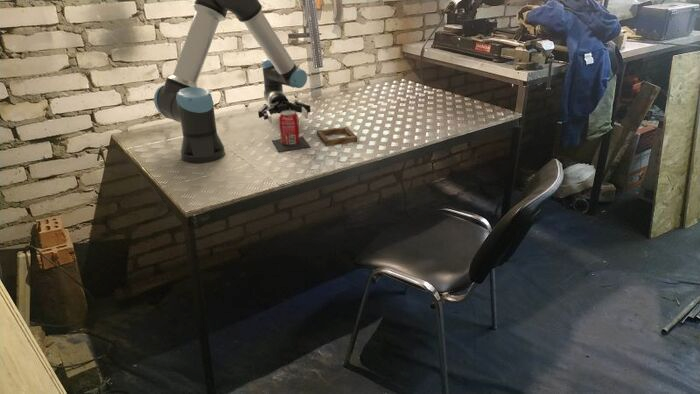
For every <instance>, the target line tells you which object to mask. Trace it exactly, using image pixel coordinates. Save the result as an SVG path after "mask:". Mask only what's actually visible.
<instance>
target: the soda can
mask: <svg viewBox="0 0 700 394" xmlns="http://www.w3.org/2000/svg"><path fill="white" fill-rule="evenodd" d="M278 119H279V120H278V121H279V132H280V133H279V134H280V139H281V142H282V143H283V144H284V145H287V146H292V145H296V144H297V143H298V142H299V138H300V137H301V136H300V123H299V120H300V119H299V116H298V114H297V112H296V111H294V110H285V111H282V112H281V113H280V114H279V118H278Z"/></svg>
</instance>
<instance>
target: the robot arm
mask: <svg viewBox="0 0 700 394" xmlns="http://www.w3.org/2000/svg"><path fill="white" fill-rule="evenodd" d="M192 7H193V9H194V10H195V12H194V15H193V19H192V20H191V23H190V26H189V30H188V32H187V35H186V36H185V37H186V38H185V40H184V43H183V45H182V49H181V52H180V54H179V58H178V61H177V63H176V66H175V68H174V71H173V73H172V74H171V75H169V76H168V77H166V78H165V79H166V80H165V82H164V84H162V85H161V86H159V87H158V88H157V89H156V91H155V93H154V97H153V103H154V107H155V109H156V110H157V112H158V113H160V115H162V116H164V117H165V118H166V119H169V120H172V121H175V122H178V123H180V126H181V132H182V142H181V148H180V156H181V159H182V161H184V162H187V163H192V164H202V163H203V164H204V163H208V162H213V161H217V160H219V159H221V158H222V157H224V156H225V154H226V150H225V146H224V144H223V142H222V140H221V138H220V136H219V134H218V131H217V124H216V123H217V121H216V117H215V110H214V109H215V108H214V107H215V106H214V100H213V95H212V94H211V92H210V90H208V89H206V88H202V87H198V81H199V78H200V75H201V72H202V71H203V67H204V64H205V61H206V59H207V56H208V53H209V50H210V48H211V45H212V42H213V39H214V38H215V33H216V31H217V29H218V26H219V23H220V22H222V21H224V20H226V16H227V14H228V12H230V13H232V14H233V15H234V16H235V17H236V19H237V20H238V21H239V23H244V25H245V26H246V28H247V29H248V31H249V32H250V34H251V35H252V37H253V39H255V41H256V42H257V44H258V45H259V46H260V48H261V50H262V51H263V53H264V54H265V56H266V58H264V59H263V60H262V76H263V82H264V83H263V84H264V86H263V87H264V91H263V95H264V99H265V101H266V102H267V103H268V104H267V103H264V104H263V106H262V107H261V108H259V110H258V111H257V112H258V118H259V119H262V118H263V119H264V121H265V120H267V121H268V123H269V124H272V123H273V120H272V119H273V118H272V115H275V114H279V115H281V112H282V111H285V110H294V111H296V113H299V114H301V115H302V116H303V117H304V119H305V120H308V119H309V118H308V117H309V116H308V115H309V113H311V105H309V104H306V103H302V102H299V101H298V100H294V102H290V101H289V99H288V98H287V96H286V95H285V94H284V90H283V89H284V88H283V85H284V86H287V87H291V88H293V89H294V88H295V89H300V88H301V89H302V88H303V87H304V86H305V85H306V84H307V83H308V82H307V80H308V75H307V73H306V71H305V70H304V69H302V68H298V66H297V65H296V63H295V62H294V60H293V59H292V57H291V55H290V54H289V52H288V51H287V49H286V48H285V46H284V44H283V42H282V41H281V39H280V38H279V37H278V35H277V33H276V31H275V30H274V29H273V27H272V25H271V24H270V22H269V21H268V19H267V18H266V16H265V14H264V12H263V11H262V9H263V6H262V4H261V2H260V1H259V0H194V2H193V6H192Z"/></svg>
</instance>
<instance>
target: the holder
mask: <svg viewBox="0 0 700 394" xmlns="http://www.w3.org/2000/svg"><path fill="white" fill-rule="evenodd" d="M341 134H345V135H346V136H343V137H335V138H328V137H327V136H334V135H341ZM316 136H317V137H318V139H319V140H320V141H321V142H322V143H323V145H324V146H325V147H330V146H334V145H335V146H337V145H344V144H345V145H346V144H351V143H358V135H356V134H355V133H354V132H353V131H352V130H351V129H350V128H349V127H348V126H343V127H333V128H327V129H318V130H316Z"/></svg>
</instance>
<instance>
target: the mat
mask: <svg viewBox="0 0 700 394" xmlns="http://www.w3.org/2000/svg"><path fill="white" fill-rule="evenodd" d="M271 141H272V144H273V146H274V147H275V149H276V151H277V152H278V153H283V152H292V151H298V150H305V149H306V150H307V149H311V146H310V143H308V142H307V140H306V138H304V136H300V138H299V142H298V143H297V144H296V145H292V146H287V145H284V144H283V143H282V142H281V138H280V139H272V140H271Z"/></svg>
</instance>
